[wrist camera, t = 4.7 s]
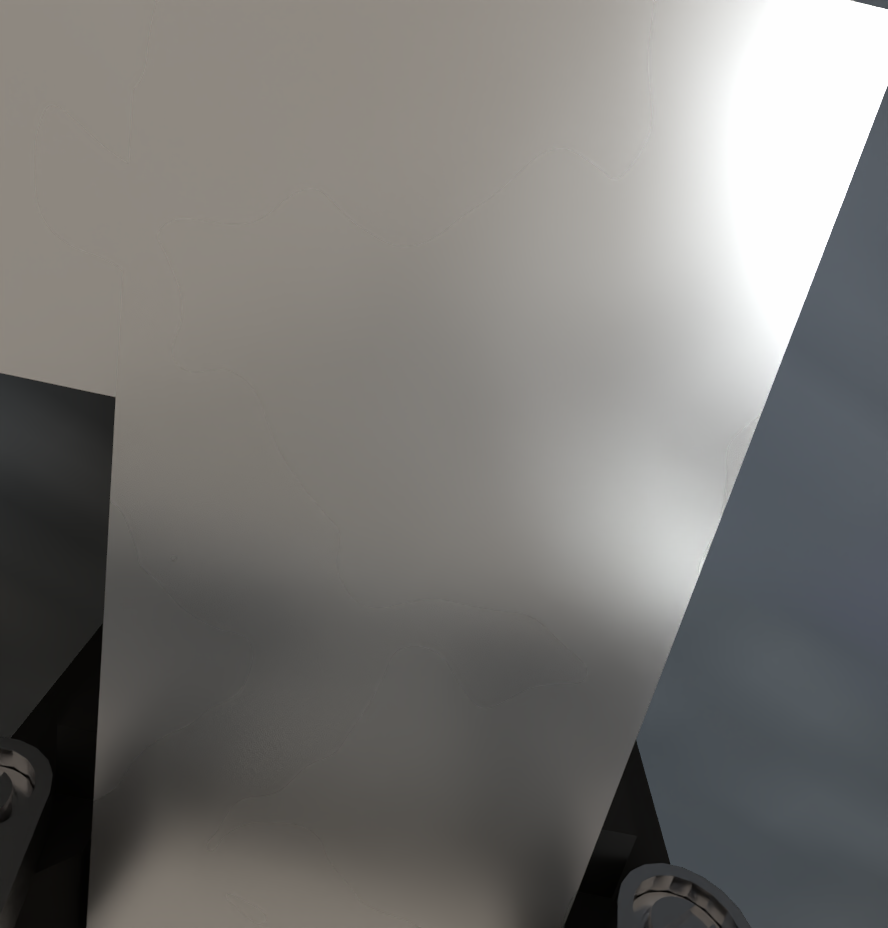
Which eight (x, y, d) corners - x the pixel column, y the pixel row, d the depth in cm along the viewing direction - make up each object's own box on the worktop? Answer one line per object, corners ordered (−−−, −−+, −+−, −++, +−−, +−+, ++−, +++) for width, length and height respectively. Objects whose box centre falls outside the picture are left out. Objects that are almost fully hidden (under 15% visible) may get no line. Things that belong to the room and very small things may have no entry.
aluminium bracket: (439, 903, 13) (421, 1297, 9) (-82, 806, 13) (-391, 1165, 8) (677, 93, 9) (915, 16, 4) (-134, -98, 8) (-909, -426, 4)
